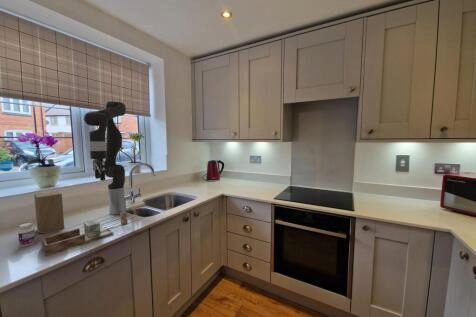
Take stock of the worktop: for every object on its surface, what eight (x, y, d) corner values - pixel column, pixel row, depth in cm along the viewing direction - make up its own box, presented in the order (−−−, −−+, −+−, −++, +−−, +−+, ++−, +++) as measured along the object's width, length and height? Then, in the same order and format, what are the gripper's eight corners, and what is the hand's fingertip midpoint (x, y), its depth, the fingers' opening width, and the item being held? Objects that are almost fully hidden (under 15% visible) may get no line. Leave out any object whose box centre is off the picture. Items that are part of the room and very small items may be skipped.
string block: (124, 222, 119) (124, 210, 118) (129, 225, 115) (129, 213, 114) (84, 233, 104) (83, 220, 104) (88, 237, 100) (87, 224, 99)
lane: (106, 228, 114) (105, 221, 113) (113, 234, 106) (112, 226, 106) (42, 247, 94) (41, 238, 93) (45, 256, 87) (45, 246, 86)
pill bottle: (19, 243, 97) (17, 224, 96) (35, 240, 101) (34, 221, 100) (19, 248, 93) (17, 227, 92) (35, 244, 97) (33, 224, 96)
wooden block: (60, 223, 120) (58, 190, 119) (64, 228, 114) (61, 193, 112) (37, 229, 113) (34, 194, 111) (39, 234, 106) (36, 197, 104)
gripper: (111, 150, 108) (112, 180, 109) (102, 149, 117) (103, 176, 119) (94, 150, 102) (96, 182, 104) (86, 149, 111) (88, 178, 113)
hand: (100, 179), depth 111 cm, fingers open, 8 cm apart
